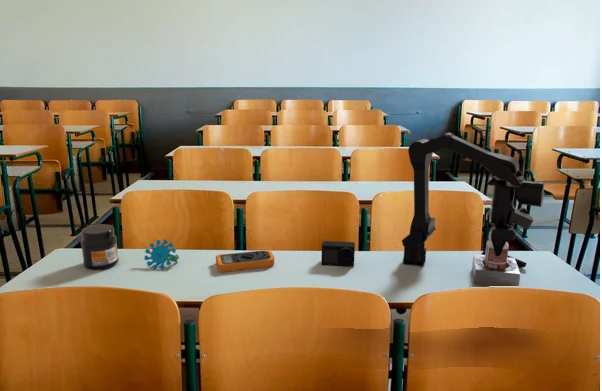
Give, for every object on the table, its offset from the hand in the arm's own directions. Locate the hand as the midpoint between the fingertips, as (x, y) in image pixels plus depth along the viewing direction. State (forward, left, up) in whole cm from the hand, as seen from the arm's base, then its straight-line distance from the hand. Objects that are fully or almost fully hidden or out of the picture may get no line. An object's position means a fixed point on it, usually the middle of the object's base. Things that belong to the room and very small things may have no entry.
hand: (496, 251), depth 152 cm
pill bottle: (0, 0, -6) cm, 6 cm away
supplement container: (-120, -21, -9) cm, 122 cm away
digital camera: (-47, -1, -9) cm, 48 cm away
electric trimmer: (+4, +15, -9) cm, 18 cm away
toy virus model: (-101, -16, -9) cm, 103 cm away
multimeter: (-75, -10, -9) cm, 77 cm away
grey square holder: (0, 0, -9) cm, 9 cm away
